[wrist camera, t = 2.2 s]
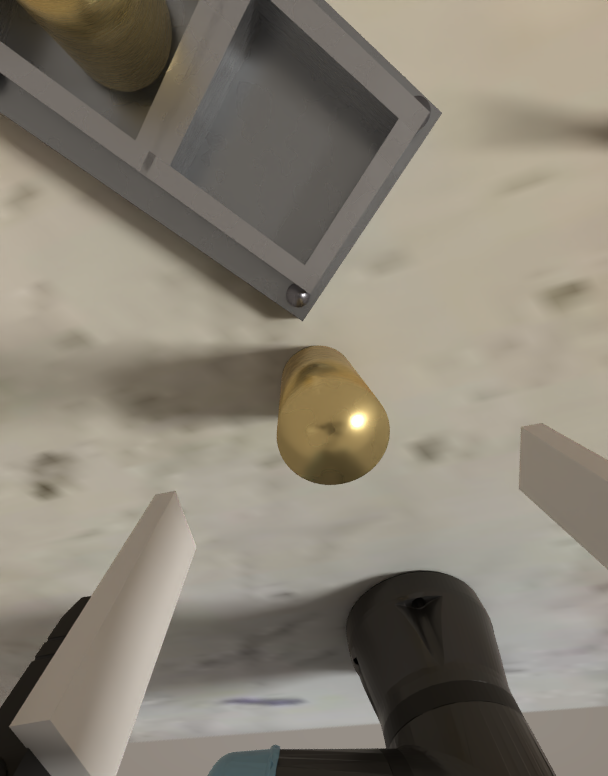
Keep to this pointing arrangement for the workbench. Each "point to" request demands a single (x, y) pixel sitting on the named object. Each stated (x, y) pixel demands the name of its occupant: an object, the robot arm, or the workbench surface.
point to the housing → (221, 122)
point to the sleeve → (329, 418)
